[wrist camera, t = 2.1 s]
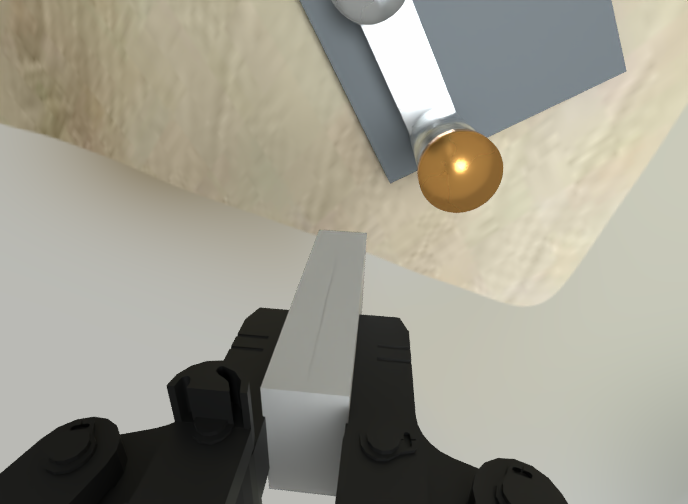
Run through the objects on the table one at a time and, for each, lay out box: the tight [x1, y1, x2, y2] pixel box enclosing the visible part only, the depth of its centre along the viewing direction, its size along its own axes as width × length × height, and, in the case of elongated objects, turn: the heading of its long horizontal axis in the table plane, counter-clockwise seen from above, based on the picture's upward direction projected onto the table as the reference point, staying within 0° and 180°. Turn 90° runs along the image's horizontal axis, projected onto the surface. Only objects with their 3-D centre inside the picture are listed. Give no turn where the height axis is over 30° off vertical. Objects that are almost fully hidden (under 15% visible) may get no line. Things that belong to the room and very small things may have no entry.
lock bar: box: [332, 0, 503, 213], centre depth 19 cm, size 13×4×10 cm, turn 28°
